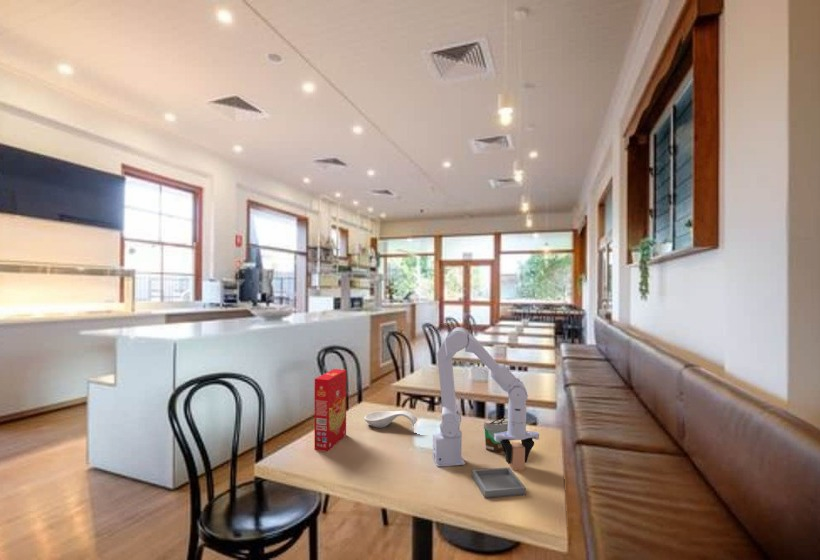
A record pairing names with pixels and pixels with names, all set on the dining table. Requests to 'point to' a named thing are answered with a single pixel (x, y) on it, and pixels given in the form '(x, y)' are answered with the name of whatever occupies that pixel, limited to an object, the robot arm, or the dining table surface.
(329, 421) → the food packaging
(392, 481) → the dining table surface
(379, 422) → the spoon rest
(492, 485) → the tray
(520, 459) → the block
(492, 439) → the food container
